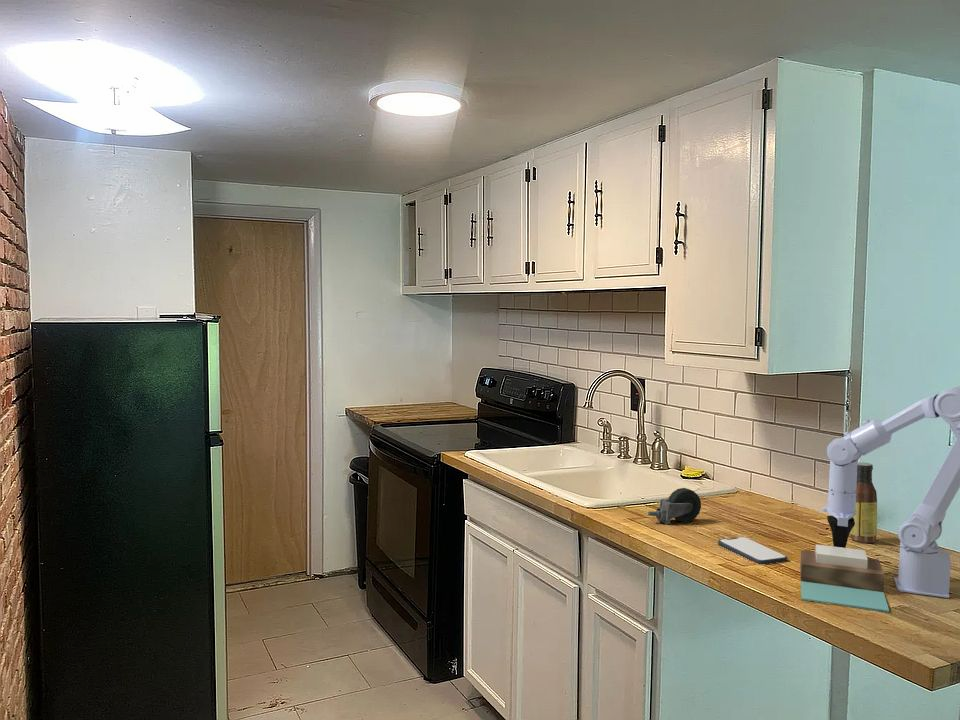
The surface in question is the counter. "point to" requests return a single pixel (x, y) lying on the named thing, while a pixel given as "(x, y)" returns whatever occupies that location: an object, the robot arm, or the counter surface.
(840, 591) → the mat
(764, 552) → the phone case
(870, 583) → the block
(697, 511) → the caster wheel
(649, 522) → the counter surface
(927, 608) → the counter surface
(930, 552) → the robot arm
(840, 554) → the tile
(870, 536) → the sauce bottle
